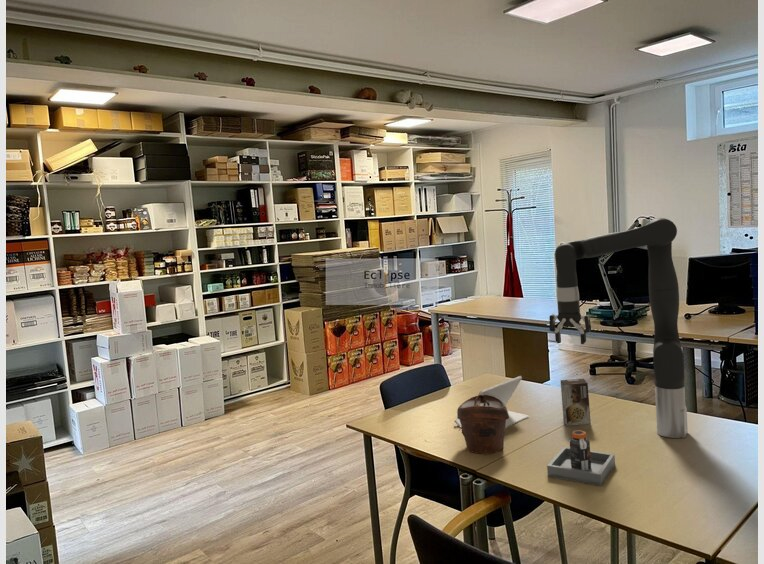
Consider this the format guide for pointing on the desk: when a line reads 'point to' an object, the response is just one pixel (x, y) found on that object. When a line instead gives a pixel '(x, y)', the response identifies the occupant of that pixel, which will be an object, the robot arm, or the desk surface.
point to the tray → (594, 475)
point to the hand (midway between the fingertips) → (570, 343)
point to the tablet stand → (504, 398)
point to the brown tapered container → (483, 423)
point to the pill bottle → (580, 451)
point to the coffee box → (575, 402)
